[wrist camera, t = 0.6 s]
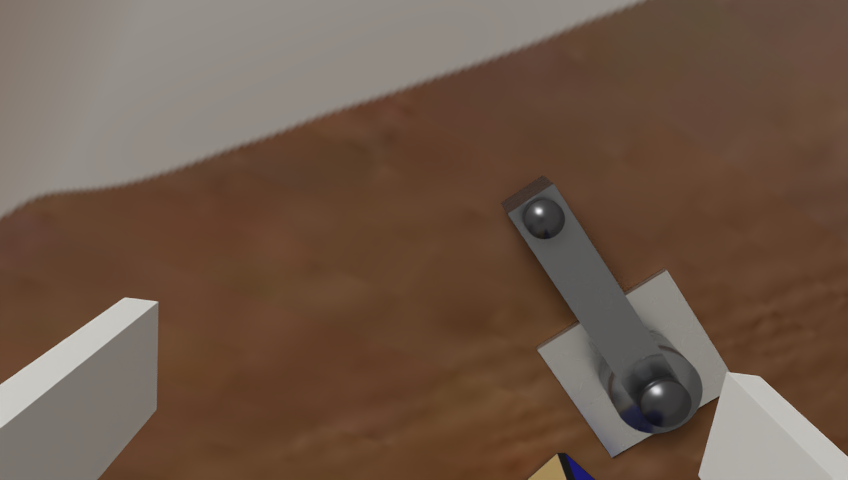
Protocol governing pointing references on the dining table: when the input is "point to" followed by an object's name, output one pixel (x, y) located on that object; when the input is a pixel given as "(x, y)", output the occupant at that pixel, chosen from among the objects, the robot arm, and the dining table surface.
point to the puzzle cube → (561, 470)
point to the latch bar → (599, 304)
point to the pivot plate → (588, 358)
